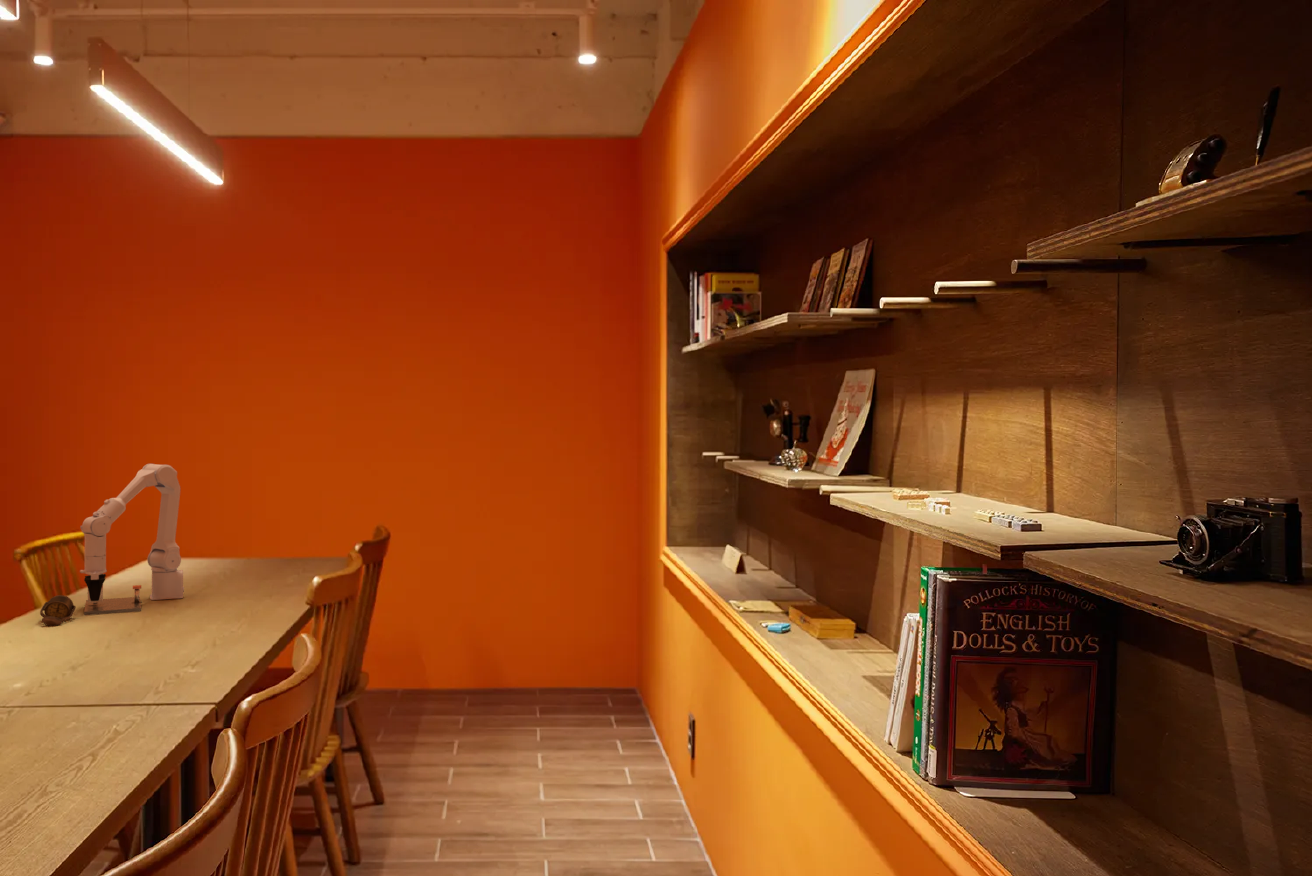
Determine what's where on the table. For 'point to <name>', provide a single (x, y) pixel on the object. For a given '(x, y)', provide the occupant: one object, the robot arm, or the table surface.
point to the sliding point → (99, 598)
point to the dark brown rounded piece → (57, 610)
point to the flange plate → (115, 604)
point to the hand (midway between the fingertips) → (94, 599)
